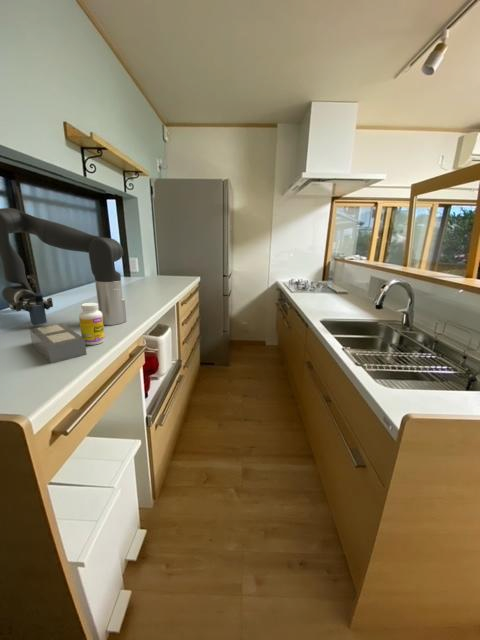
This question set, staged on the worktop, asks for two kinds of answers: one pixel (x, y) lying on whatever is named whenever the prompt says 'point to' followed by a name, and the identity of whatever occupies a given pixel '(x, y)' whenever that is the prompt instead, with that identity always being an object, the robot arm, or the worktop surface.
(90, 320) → the supplement bottle
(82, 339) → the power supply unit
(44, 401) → the worktop surface
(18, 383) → the worktop surface
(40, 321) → the vaping device
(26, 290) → the robot arm
